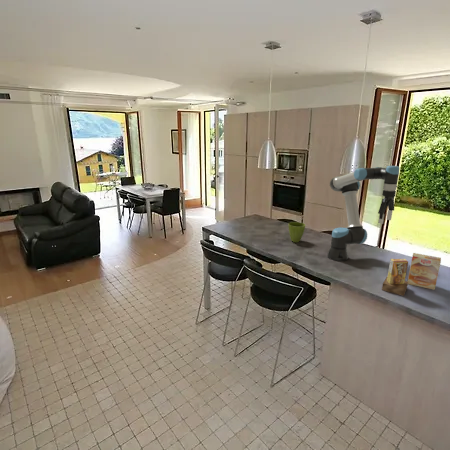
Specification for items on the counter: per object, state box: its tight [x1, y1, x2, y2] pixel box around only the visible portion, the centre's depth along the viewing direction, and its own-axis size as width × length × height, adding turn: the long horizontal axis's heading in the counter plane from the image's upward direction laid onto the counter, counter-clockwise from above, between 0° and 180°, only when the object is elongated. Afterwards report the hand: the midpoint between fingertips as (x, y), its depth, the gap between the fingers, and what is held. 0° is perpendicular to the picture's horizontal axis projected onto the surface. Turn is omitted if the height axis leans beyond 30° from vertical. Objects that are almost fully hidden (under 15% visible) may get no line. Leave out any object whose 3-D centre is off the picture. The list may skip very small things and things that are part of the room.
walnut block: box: [381, 276, 409, 297], centre depth 189 cm, size 12×12×5 cm
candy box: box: [386, 258, 409, 284], centre depth 185 cm, size 9×4×15 cm, turn 89°
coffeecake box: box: [407, 252, 442, 291], centre depth 192 cm, size 15×7×20 cm, turn 56°
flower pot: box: [287, 221, 306, 243], centre depth 273 cm, size 15×15×16 cm
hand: (384, 221), depth 203 cm, fingers open, 13 cm apart
